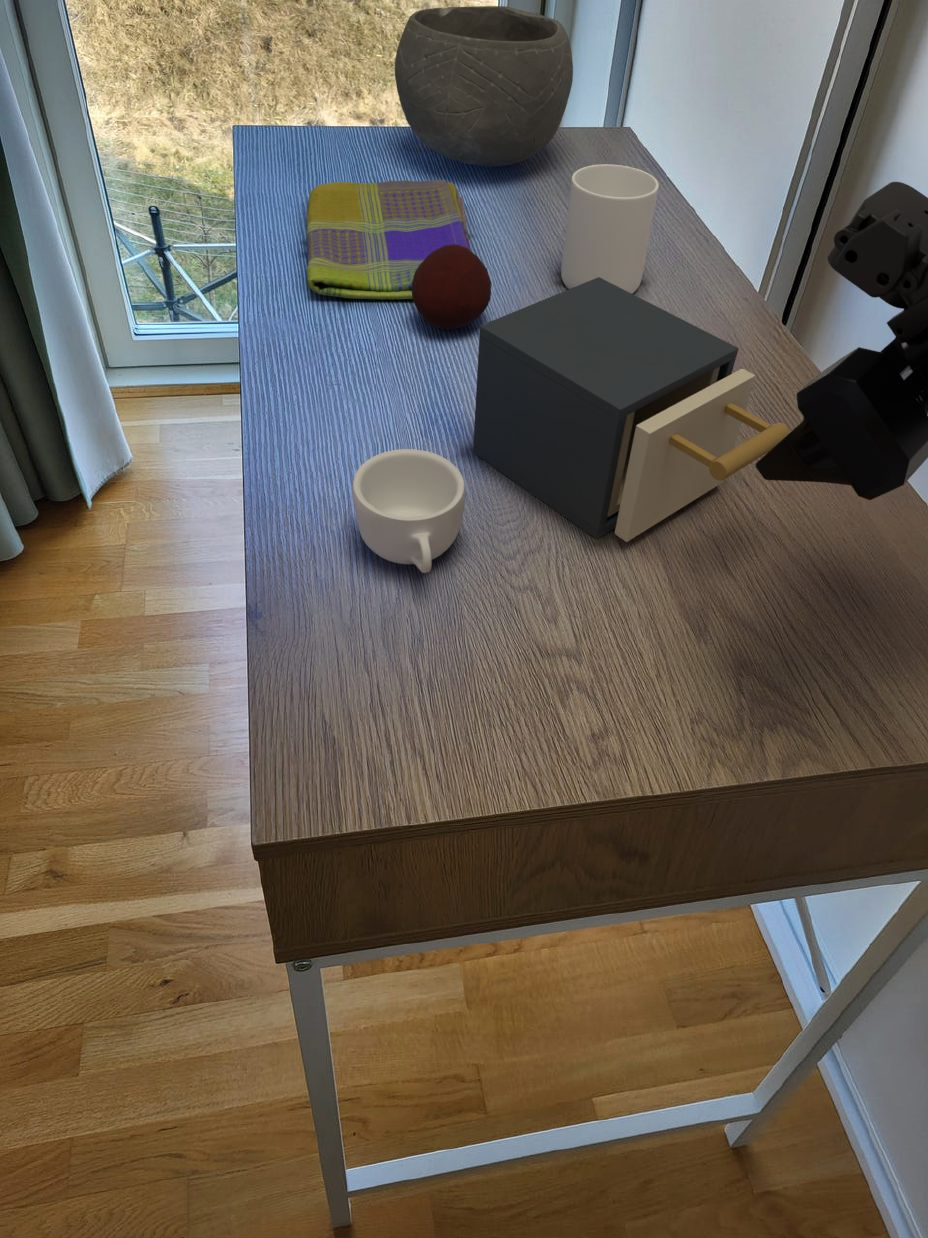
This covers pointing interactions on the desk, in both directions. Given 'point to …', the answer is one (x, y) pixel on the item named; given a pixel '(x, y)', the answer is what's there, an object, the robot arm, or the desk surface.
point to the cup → (608, 225)
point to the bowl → (483, 81)
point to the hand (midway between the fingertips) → (798, 436)
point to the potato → (451, 287)
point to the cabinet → (580, 390)
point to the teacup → (409, 505)
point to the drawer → (685, 449)
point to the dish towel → (378, 235)
